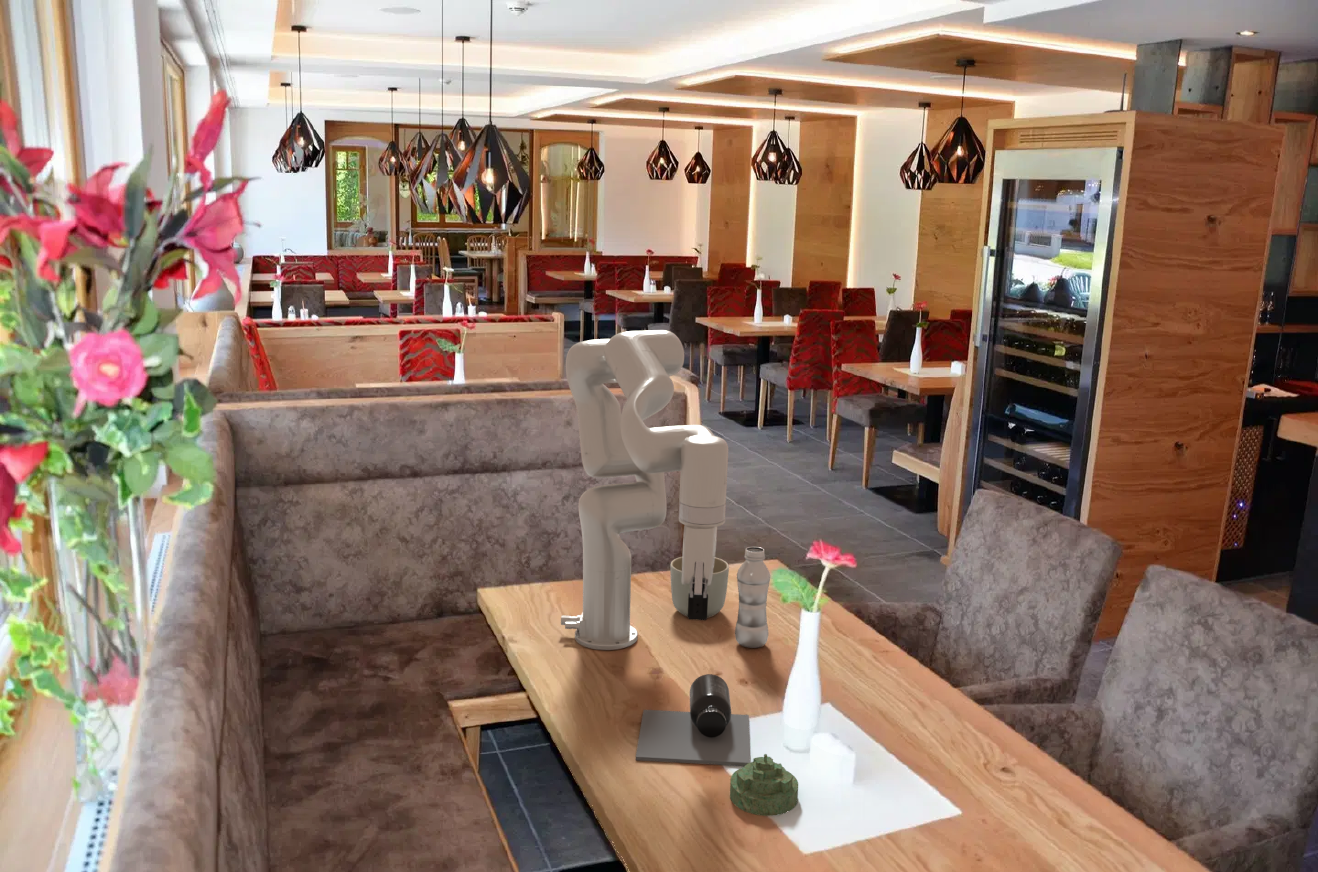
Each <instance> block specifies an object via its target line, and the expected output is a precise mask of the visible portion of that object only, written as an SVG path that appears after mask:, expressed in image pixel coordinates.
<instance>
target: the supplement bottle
mask: <svg viewBox="0 0 1318 872" xmlns="http://www.w3.org/2000/svg"><path fill="white" fill-rule="evenodd" d="M689 712H690V716H691V720H692V722H693V724H694V725H695V726H696V727H697V728H698V730H699V732H701V734H703V735H704V736H706V737H711V738H712V737H717V736H719V735H721V734H722V733H723V732H724V730H725V727H726V726H727V725H728V723H729V721H730V719H731V714H732V705H731V696H730V688H729V686H728V684H727V682H726V681H725V680H724V679H723V678H722V677H721V676H719V675H716V674H713V673H706V674H702V675H700V676H697V678H696V679H694V680H693V682H691V686H690V688H689Z"/></svg>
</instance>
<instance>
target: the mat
mask: <svg viewBox="0 0 1318 872" xmlns="http://www.w3.org/2000/svg"><path fill="white" fill-rule="evenodd" d="M641 717H642V718H641V723H640V729H639V735H638V741H637V747H636V753H635V761H642V762H643V761H644V762H662V763H663V762H664V763H681V764H701V765H714V766H715V765H717V766H718V765H719V766H734V765H738V766H739V767H744V766H745V765H747V764H748V763H750V762H751V746H750V745H751V743H750V739H751V738H750V719H749V718H750V714H737V713H731V719H730V721H729V723H728V725H727V726H726V727H725V730H724V732H723V733H722V734H721V735H719V736H717V737H712V738H711V737H706V736H704V735H703V734H701V732H699V730H698V728H697V727H696V726H695V725H694V724H693V722H692V720H691V716H690V711H680V710H679V711H676V710H659V709H643V711H642V716H641ZM738 766H737V767H738Z"/></svg>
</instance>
